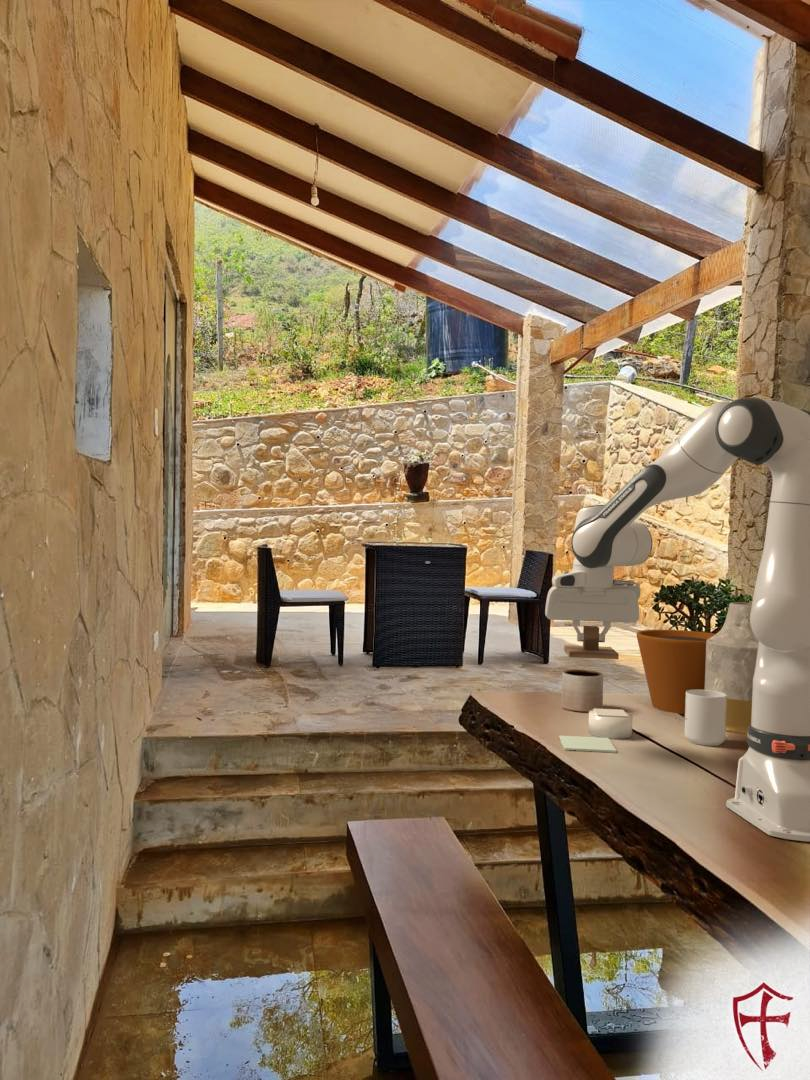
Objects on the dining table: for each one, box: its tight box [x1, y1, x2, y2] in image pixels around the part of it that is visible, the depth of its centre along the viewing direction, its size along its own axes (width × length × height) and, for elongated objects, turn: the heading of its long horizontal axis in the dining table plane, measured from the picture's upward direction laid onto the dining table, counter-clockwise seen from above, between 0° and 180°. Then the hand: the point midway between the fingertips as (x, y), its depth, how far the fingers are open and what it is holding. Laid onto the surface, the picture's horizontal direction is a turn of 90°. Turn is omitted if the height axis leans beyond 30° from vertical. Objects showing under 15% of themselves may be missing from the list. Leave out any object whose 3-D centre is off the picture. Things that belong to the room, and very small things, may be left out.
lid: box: [563, 625, 620, 660], centre depth 188 cm, size 10×10×6 cm
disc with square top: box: [587, 708, 633, 740], centre depth 200 cm, size 10×10×5 cm
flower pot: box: [636, 629, 717, 715], centre depth 231 cm, size 24×24×20 cm
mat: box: [558, 735, 617, 754], centre depth 188 cm, size 11×11×1 cm
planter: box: [560, 669, 604, 714], centre depth 227 cm, size 11×11×10 cm
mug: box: [683, 690, 727, 747], centre depth 196 cm, size 12×9×11 cm
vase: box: [705, 601, 759, 735], centre depth 212 cm, size 18×18×30 cm
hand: (590, 641), depth 188 cm, fingers closed on lid, 3 cm apart
